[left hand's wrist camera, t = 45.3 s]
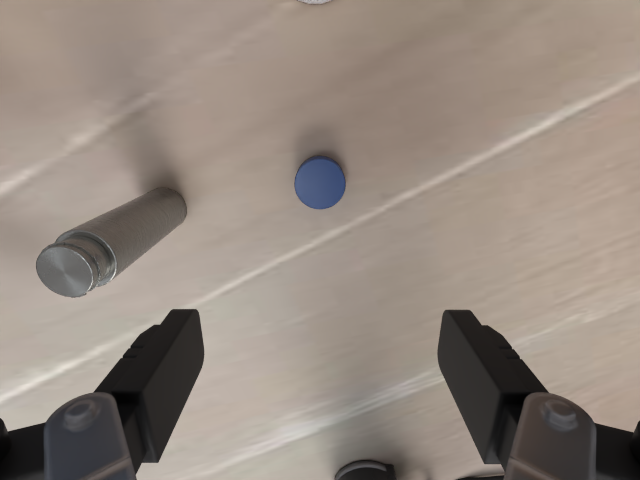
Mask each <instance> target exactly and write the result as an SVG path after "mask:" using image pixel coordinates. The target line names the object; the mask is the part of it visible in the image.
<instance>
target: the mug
mask: <svg viewBox="0 0 640 480" xmlns="http://www.w3.org/2000/svg"><path fill="white" fill-rule="evenodd" d="M297 1H300V2H303V3H307V4H323V3H326V2H329V1H332V0H297Z"/></svg>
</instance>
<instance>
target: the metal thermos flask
mask: <svg viewBox="0 0 640 480" xmlns="http://www.w3.org/2000/svg"><path fill="white" fill-rule="evenodd" d="M186 213H187V209H186V204H185V202H184V200H183V199H182V197H181V196H180V195H179V194H178V193H176V192H175V191H173V190H171V189H168V188H158V189H155V190H153V191H150V192H148V193H146V194H144V195H142V196H140V197H138V198H136V199H134V200H132V201H130V202H127V203H125V204H123V205H121V206H119V207H117V208H115V209H113V210H111V211H109V212H107V213H104V214H102V215H100V216H98V217H96V218H94V219H92V220H90V221H88V222H86V223H84V224H82V225H79V226H77V227H75V228H73V229H71V230H69V231H67V232H65V233H63V234H62V235H60V236H59V237H58V239H57V240H56V242H55V243H54V244H51V245H49V246H47V247H46V248H45V249H44V250H43V251H42V252H41V254H40V255H39V256H38V258H37V262H36V269H37V273H38V276H39V278H40V279H41V281H42V282H43V283H44V284H45V286H47V287H48V288H49V289H50V290H52V291H53V292H55V293H57V294H60V295H63V296H67V297H81V296H84V295H86V292H88V291H91V290H93V289H94V288H95V287H99V286H103V285H105V284H107V283H109V282H110V281H111V280H112V279H114V278H115V277H116V276H117V275H119V274H120V273H121V272H122V271H123V270H125V269H126V268H127V267H128V266H130V265H131V264H132V263H133V262H134V261H136V260H137V259H138V258H139V257H141V256H142V255H143V254H144V253H146V252H147V251H148V250H149V249H150V248H152V247H153V246H154V245H155V244H157V243H158V242H159V241H160V240H161V239H163V238H164V237H165V236H166V235H168V234H169V233H170V232H171V231H173V230H174V229H175V228H176V227H177V226H179V225H180V224H181V223H182V222H183V221H184V219H185V217H186Z"/></svg>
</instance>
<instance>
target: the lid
mask: <svg viewBox="0 0 640 480" xmlns="http://www.w3.org/2000/svg"><path fill="white" fill-rule="evenodd" d="M344 190H345V178H344V174H343V172H342V169H341V168H340V166H339V165H338V164H337V163H336V162H335V161H334V160H333V159H331V158H328V157H325V156H315V157H312V158H309V159H308V160H306V161H305V162H304V163H303V164H302V165H301V166H300V167H299V169H298V172H297V175H296V177H295V191H296V193H297V196H298V197H299V199H300V200H301V201H302V202H303V203H304V204H305V205H307V206H309V207H311V208H314V209H326V208H329V207H331V206H333V205H335V204H336V203H337V202H338V201H339V200H340V199H341V197H342V196H343V193H344Z"/></svg>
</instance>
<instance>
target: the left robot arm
mask: <svg viewBox="0 0 640 480" xmlns="http://www.w3.org/2000/svg"><path fill="white" fill-rule="evenodd" d="M203 360H204V345H203V338H202V331H201V324H200V316H199V312H198V311H197V310H196V309H173V310H171V311H170V312H169V314H168V315H167V316H166V318H165V319H164V320H163V322H162V323H161V324H160V325H153V326H152V327H150V328H149V329H147V330H146V331H144V332H143V333H142V334H140V335H139V336H138V338H137V339H136V340H135V341H134V343H133V344H132V345H131V348H129V349H128V350H127V351H126V353H125V354H124V355H123V358H121V359H120V360H119V361H118V362H117V364H116V365H115V366H114V367H113V369H112V370H111V371H110V372H109V374H108V375H107V376H106V377H105V379H104V380H103V381H102V382H101V384H100V385H99V386H98V387H97V389H96V390H95V391H94V392H93V393H89V394H85V395H82V396H79V397H77V398H74V399H72V400H70V401H69V402H67V403H65V404H64V405H62V406H61V407H60V408H58V409H57V410H56V411H55V412H54V413H53V414H52V415H51V416H50V417H49V418H48V420H47V422H45V423H42V424H37V425H33V426H29V427H25V428H21V429H17V430H12V431H7V429H6V427H5V424H4V422H3V420H2V419H1V418H0V480H137V479H136V473H137V471H138V469H139V467H140V465H141V463H158V462H159V460H160V458H161V456H162V453H163V451H164V449H165V447H166V445H167V443H168V440H169V438H170V436H171V434H172V432H173V429H174V427H175V425H176V423H177V421H178V419H179V416H180V414H181V412H182V410H183V408H184V405H185V403H186V401H187V399H188V397H189V395H190V392H191V390H192V388H193V386H194V384H195V382H196V379H197V377H198V375H199V373H200V371H201V368H202V365H203ZM438 362H439V367H440V369H441V372H442V374H443V376H444V378H445V380H446V383H447V385H448V387H449V389H450V391H451V393H452V395H453V398H454V400H455V402H456V404H457V406H458V408H459V411H460V413H461V415H462V417H463V419H464V421H465V423H466V426H467V428H468V430H469V432H470V434H471V436H472V438H473V441H474V443H475V445H476V447H477V449H478V451H479V454H480V456H481V458H482V460H483V462H484V464H501V465H502V467H503V469H504V471H505V475H502V476H491V477H476V478H461V479H457V480H640V421H639V422H638V424H637V426H636V429H635V431H634V433H633V432H629V431H625V430H621V429H617V428H613V427H608V426H604V425H600V424H597V423H594V422H593V420H592V418H591V417H590V416H589V415H588V414H587V413H586V412H585V411H584V410H583V409H582V408H580V407H579V406H578V405H576V404H575V403H573V402H571V401H570V400H568V399H566V398H563V397H561V396H558V395H555V394H551V393H549V392H548V391H547V390H546V389H545V387H544V386H543V385H542V384H541V382H540V381H539V380H538V379H537V377H536V376H535V375H534V374H533V373H532V371H531V370H530V369H529V368H528V366H527V365H526V364H525V363H524V361H523V360H522V359H520V357H519V355H518V354H517V353H516V352H515V350H514V349H512V347H511V345H510V344H509V343H508V342H507V340H506V339H505V338H504V337H503V336H502V335H501V334H500V333H498V332H497V331H495V330H494V329H492V328H491V327H489V326H488V325H481V324H480V322H479V321H478V320H477V318H476V317H475V316H474V314H473V313H472V312H471V311H470V310H445V311H444V313H443V316H442V323H441V330H440V337H439V344H438ZM335 480H396V476H395V471H394V466H393V465H383V464H381V463H378V462H373V461H360V462H355V463H352V464H350V465H347V466H346V467H344V468H343V469H341V470H340V471H339V472H338V474H337V475H336V477H335Z"/></svg>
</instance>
